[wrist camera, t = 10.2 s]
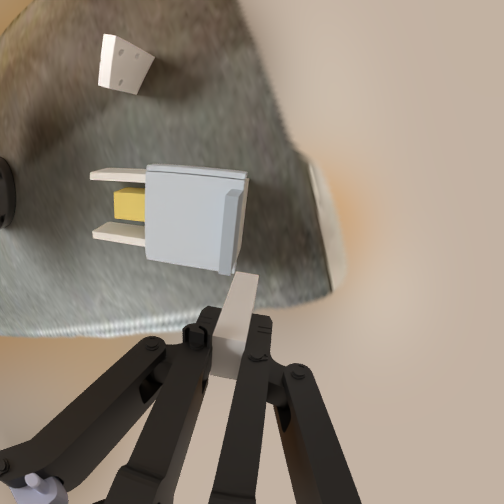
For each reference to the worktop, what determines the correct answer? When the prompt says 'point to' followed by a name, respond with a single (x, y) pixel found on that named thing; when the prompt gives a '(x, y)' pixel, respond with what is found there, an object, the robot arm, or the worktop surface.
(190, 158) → the worktop surface
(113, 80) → the white angled block
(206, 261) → the cover
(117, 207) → the mustard yellow cuboid
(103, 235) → the long white channel rail
